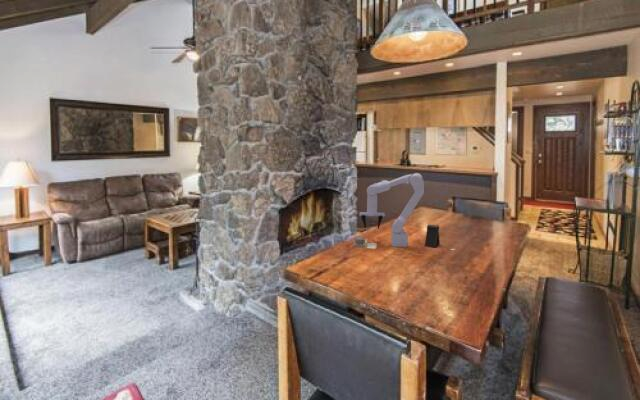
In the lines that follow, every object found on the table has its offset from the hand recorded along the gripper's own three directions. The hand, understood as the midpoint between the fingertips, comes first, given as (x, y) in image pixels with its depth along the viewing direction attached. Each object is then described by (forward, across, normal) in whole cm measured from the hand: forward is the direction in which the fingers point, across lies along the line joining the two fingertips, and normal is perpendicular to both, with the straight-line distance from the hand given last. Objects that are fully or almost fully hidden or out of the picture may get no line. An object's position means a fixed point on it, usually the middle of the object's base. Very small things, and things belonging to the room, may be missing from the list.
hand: (371, 228), depth 213 cm
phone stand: (+10, -35, -4) cm, 37 cm away
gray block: (+9, +7, +5) cm, 12 cm away
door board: (+10, +4, +6) cm, 12 cm away
